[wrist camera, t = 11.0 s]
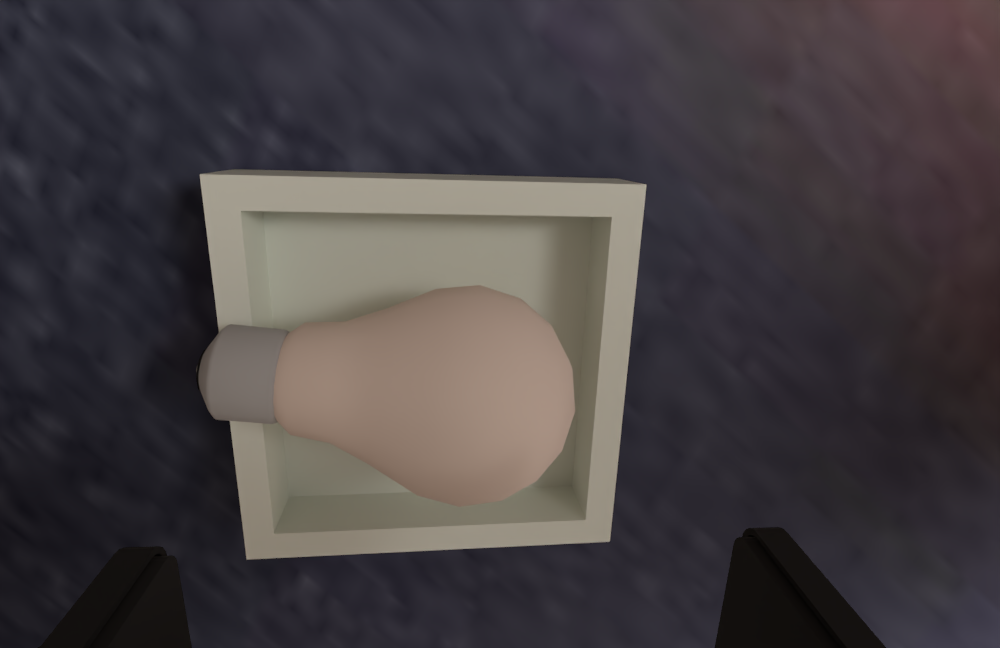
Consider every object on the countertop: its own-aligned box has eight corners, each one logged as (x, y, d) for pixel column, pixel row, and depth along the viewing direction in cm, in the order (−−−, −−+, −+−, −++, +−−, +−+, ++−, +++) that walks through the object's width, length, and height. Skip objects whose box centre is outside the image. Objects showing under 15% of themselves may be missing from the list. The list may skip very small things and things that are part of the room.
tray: (617, 178, 21) (646, 184, 18) (589, 495, 24) (609, 541, 22) (233, 169, 19) (199, 173, 16) (269, 507, 23) (246, 559, 20)
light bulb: (133, 532, 13) (589, 554, 15) (154, 247, 13) (623, 302, 15) (226, 448, 20) (537, 469, 22) (243, 256, 19) (559, 293, 21)
